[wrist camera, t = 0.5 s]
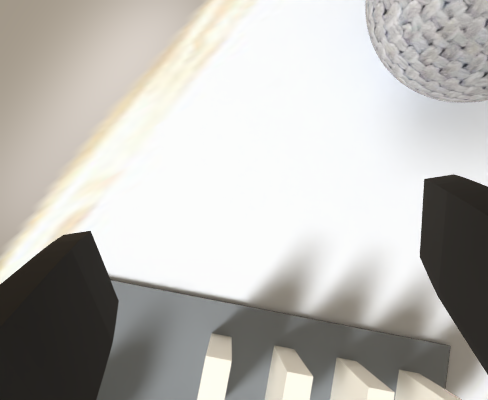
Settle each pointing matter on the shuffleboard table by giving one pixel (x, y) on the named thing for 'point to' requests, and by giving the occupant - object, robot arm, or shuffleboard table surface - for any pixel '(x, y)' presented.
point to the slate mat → (242, 348)
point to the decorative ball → (433, 45)
